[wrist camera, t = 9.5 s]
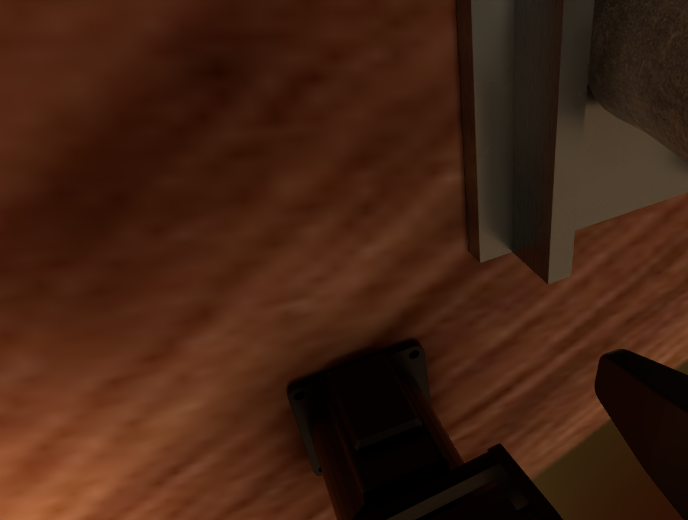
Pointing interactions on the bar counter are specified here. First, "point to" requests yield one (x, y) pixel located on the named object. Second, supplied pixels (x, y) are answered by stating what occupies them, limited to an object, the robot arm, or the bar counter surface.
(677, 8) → the pipe
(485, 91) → the pipe cradle
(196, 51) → the bar counter surface
